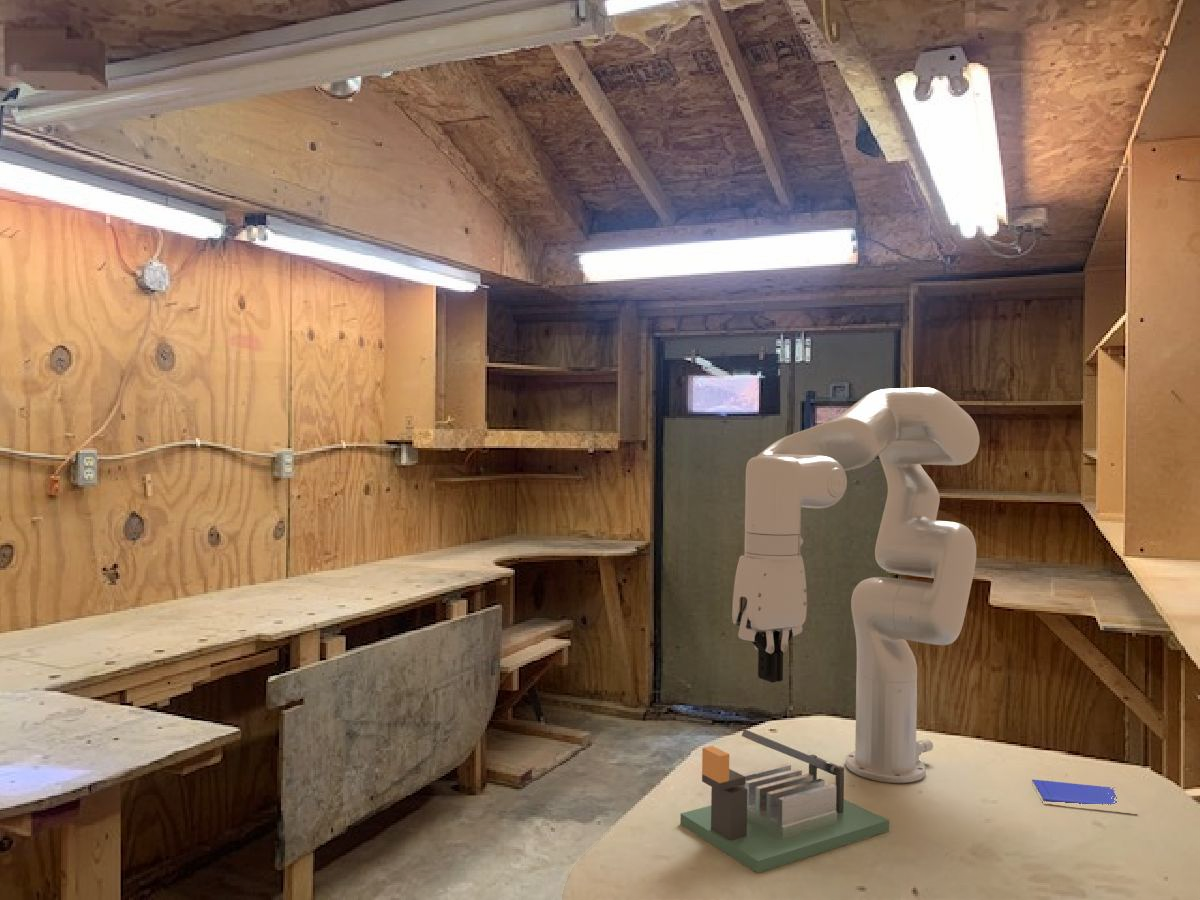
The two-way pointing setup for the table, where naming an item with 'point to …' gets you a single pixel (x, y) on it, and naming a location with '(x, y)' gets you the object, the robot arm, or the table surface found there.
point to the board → (767, 850)
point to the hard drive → (1074, 793)
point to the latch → (719, 770)
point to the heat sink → (789, 801)
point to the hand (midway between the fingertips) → (770, 679)
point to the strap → (791, 752)
